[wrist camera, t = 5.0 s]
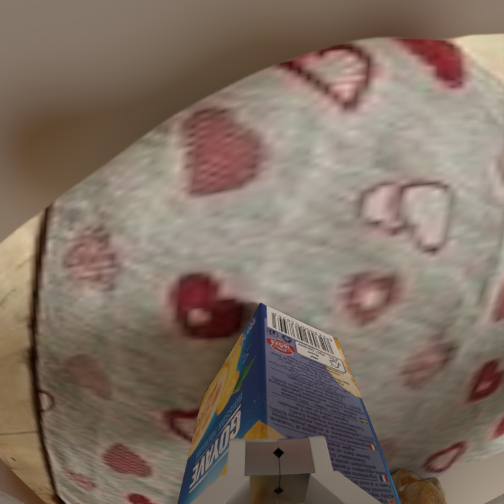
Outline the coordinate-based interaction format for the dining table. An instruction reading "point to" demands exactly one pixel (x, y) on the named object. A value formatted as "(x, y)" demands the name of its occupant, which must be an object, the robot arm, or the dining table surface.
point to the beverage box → (286, 405)
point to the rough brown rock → (417, 488)
